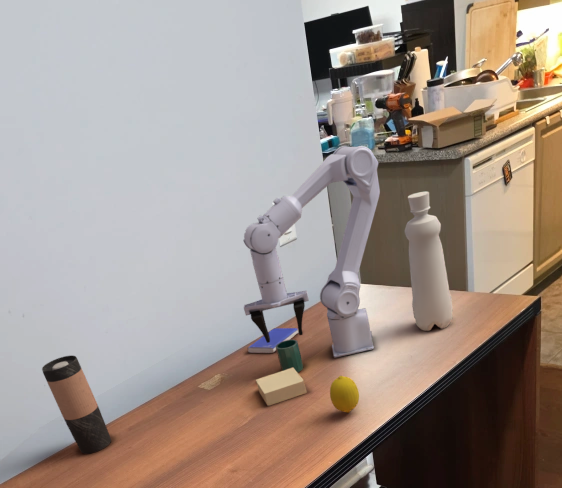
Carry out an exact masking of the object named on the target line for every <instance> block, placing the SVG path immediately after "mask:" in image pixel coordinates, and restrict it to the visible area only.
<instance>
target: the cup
mask: <svg viewBox="0 0 562 488" xmlns="http://www.w3.org/2000/svg"><path fill="white" fill-rule="evenodd" d="M275 352H276V354H277V358H278V362H279V365H280V369H281V371H284V370H287V369H290V368H294V369H295V370H296V372H297V373H298V374H299V373H300V372H301V371H303V370H304V362H303V358H302V354H301V350H300V346H299V341H298V340H296V339H290V340H286V341H283V342H280V343H279V344H277V345H276V351H275Z"/></svg>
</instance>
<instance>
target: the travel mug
mask: <svg viewBox="0 0 562 488" xmlns="http://www.w3.org/2000/svg"><path fill="white" fill-rule="evenodd" d="M41 371H42V374H43V376H44V378H45V381H46V382H47V386H48V388H49V390H50V392H51V394H52V395H53V398H54V401H55V403H56V405H57V407H58V409H59V411H60V413H61V416H62V418H63V420H64V422H65V424H66V426H67V428H68V430H69V432H70V434H71V436H72V438H73V439H74V442H75V444H76V446H77V447H78V449H79V451H80V452H81V454H84V455H89V454H93V453H97V452H100V451H102V450H103V449H105V448H107V447H108V446H110V444H111V442H112V437H111V435H110V433H109V430H108V428H107V425H106V421H105V419H104V417H103V415H102V412H101V409H100V407H99V405H98V403H97V400H96V397H95V395H94V393H93V391H92V389H91V386H90V384H89V382H88V380H87V378H86V375H85V372H84V371H83V368H82V365H81V363H80V361H79V359H78V358H77V356H76V355H65V356H61V357H58V358H56V359H52V360H51V361H49V362H47V363H46V364H44V365H43V366H42V367H41Z"/></svg>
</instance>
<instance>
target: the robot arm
mask: <svg viewBox="0 0 562 488" xmlns="http://www.w3.org/2000/svg"><path fill="white" fill-rule="evenodd" d="M378 167H379V160H378V159H377V158H376V156H375V154H374V152H373V151H372V150H371V149H370V148H369V147H367V146H364V145H359V146H349V145H342V146H339V147H338V148H336V150H334V152H333V153H331V154H329V155H328V156H327V157H326V158H325V159H324V160H323V161H322V163H320V165H319V166H318V167H317V168H316V169H315V170H314V171H313V172H312V173H311V175H309V177H308V178H307V179H306V180H305V181H304V182H303V183H302V184H301V185H300V186H299V187H298V188H297V190H295V192H294V193H293V194H292V195H282V196H281V197H275V199H274V200H273V201H272V202H273V205H272V206H271V207H270V208H269V209H268V210H266V212H265V213H264V214H263V215H262V214H260V215H259V216H258V217H257V220H258V221H256V222H253V223H250V224H249V225H248V226H247V227H246V229H245V232H244V234H243V244H244V245H245V246H246V247H247V249H248V250H249V252H250V256H251V259H252V266H253V269H254V274H255V278H256V281H257V285H258V289H259V294H260V296H261V297H260V298H261V299H259V300H256V301H253V302H250V303H246V304H244V305H243V310H244V311H243V312H244V314H245V316H250V320H251V321H252V323H254V324H255V325H256V327H257V328H258V329H259V331H260V332H261V333H262V335H263V336H264V337H265V339H266V342H267V343H268V342H270V337H269V333H268V332H269V330H268V327H267V325H266V320H265V316H264V311H268V310H272V309H277V308H281V307H284V306H289V305H293V312H294V315H295V319H296V323H297V329H298V332H299V333H298V335H299V336H303V318H304V312H305V307H306V305H305V303H306V302H309V301H310V298H309V294H308V290H301V291H293V292H288V291H287V286H286V283H285V279H284V275H283V271H282V267H281V266H282V265H281V262H280V257H279V255H278V251H277V245H278V242H279V239H281V238H282V236H284V234H286V233H287V232H288V231H289V230H290V229H291V228H292V227H293V226H294V225H295V224H296V223H297V222H298V221H299V220H300V219H301V218H302V212H303V208H304V207H305V206H307V204H309V203H310V202H311V201H312V200H313V199H314V198H315V197H317V196H318V195H319V194H320V193H321V192H323V190H324V189H326V188H327V187H328V186H329V185H331V184H333V183H339V182H343V183H344V184H345V185H346V186H347V189H348V190H349V191H350V193H351V195H352V197H353V198H352V202H351V206H350V209H349V213H348V217H347V221H346V224H345V229H344V232H343V236H342V240H341V243H340V248H339V252H338V255H337V259H336V263H335V267H334V269H333V270H332V271H331V272H330V274H328V277H327V280H326V283H325V284H324V285H323V287H322V288H321V290H320V293H319V300H320V303H321V304H322V306H323V307H325V308H326V309H327V311H326V317H327V322H328V326H329V331H330V336H331V342H332V344H331V348H332V354H333V358H335V359H336V358H341V357H345V356H349V355H354V354H359V353H362V352H367V351H371V350H372V351H373V350H374V343H373V338H374V336H373V331H372V330H371V325H370V321H369V315H368V312H367V308H366V307H365V308H359V307H360V303H361V297H360V289H361V282H360V278H359V275H358V274H359V273H360V272H359V271H360V267H361V264H362V260H363V257H364V254H365V250H366V246H367V242H368V238H369V235H370V232H371V227H372V224H373V221H374V217H375V214H376V213H375V212H376V210H377V207H378V201H379V198H380V193H381V189H380V183H379V177H378Z"/></svg>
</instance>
